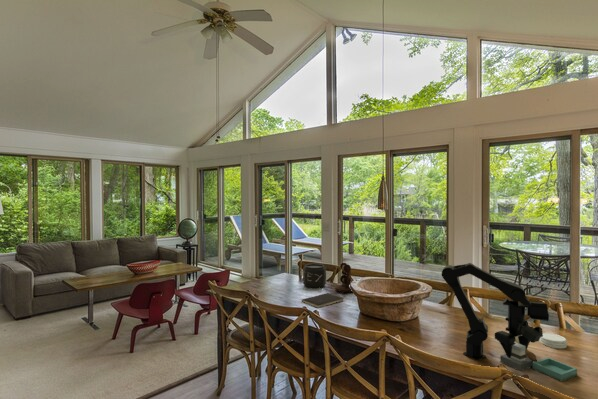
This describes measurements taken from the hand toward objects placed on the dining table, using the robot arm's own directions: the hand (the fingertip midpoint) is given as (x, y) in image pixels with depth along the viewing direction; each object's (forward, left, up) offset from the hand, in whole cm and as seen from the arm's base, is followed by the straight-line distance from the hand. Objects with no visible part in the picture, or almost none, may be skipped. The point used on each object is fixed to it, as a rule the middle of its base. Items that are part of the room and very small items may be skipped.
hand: (516, 355), depth 134 cm
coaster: (+34, +5, -4) cm, 35 cm away
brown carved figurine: (-4, +120, -4) cm, 121 cm away
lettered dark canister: (-19, +142, -4) cm, 143 cm away
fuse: (0, 0, -4) cm, 4 cm away
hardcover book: (-31, +106, -4) cm, 110 cm away
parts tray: (+7, -10, -4) cm, 13 cm away
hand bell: (+13, +8, +1) cm, 15 cm away
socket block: (0, 0, -4) cm, 4 cm away
